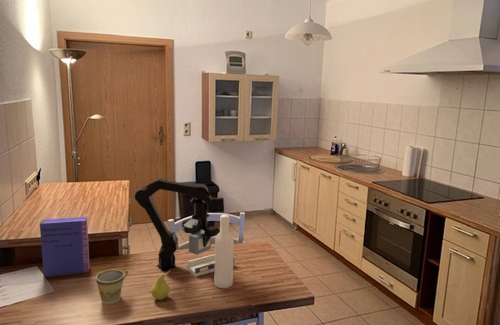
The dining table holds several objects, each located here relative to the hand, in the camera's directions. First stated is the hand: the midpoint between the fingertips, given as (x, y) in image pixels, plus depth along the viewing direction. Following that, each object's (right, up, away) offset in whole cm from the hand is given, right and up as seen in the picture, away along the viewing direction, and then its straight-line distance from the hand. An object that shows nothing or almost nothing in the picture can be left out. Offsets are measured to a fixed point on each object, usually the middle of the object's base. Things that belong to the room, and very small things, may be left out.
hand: (200, 245), depth 170 cm
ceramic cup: (-30, -15, -25) cm, 42 cm away
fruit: (-12, -15, -25) cm, 31 cm away
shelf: (+4, -10, +2) cm, 11 cm away
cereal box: (-57, -10, -7) cm, 58 cm away
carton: (0, -2, +1) cm, 2 cm away
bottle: (+11, -14, -12) cm, 22 cm away
